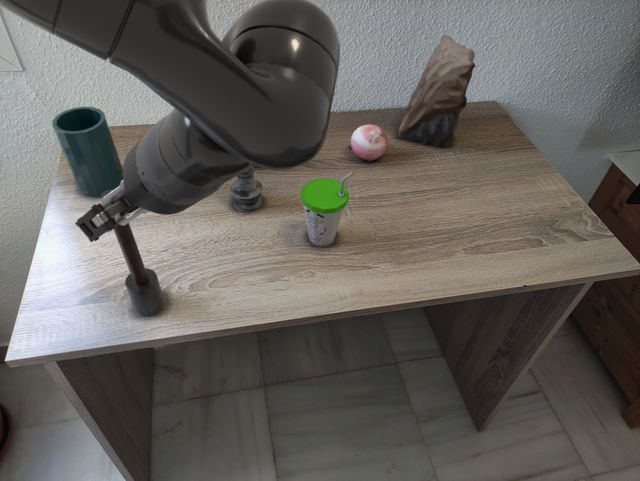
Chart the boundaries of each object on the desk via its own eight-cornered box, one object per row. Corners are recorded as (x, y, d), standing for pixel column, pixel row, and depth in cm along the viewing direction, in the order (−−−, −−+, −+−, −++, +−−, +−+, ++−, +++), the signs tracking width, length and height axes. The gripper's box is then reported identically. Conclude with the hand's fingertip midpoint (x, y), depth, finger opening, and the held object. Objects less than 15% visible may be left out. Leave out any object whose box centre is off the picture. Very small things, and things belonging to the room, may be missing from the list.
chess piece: (257, 189, 91) (253, 136, 82) (268, 208, 88) (265, 155, 79) (227, 196, 89) (221, 144, 80) (237, 216, 86) (231, 163, 77)
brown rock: (416, 112, 113) (435, 28, 99) (466, 130, 109) (493, 44, 94) (394, 137, 106) (411, 49, 91) (447, 156, 101) (473, 68, 87)
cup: (290, 240, 82) (290, 172, 71) (316, 216, 87) (319, 148, 76) (327, 260, 79) (333, 193, 68) (351, 234, 84) (361, 166, 73)
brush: (136, 319, 69) (90, 210, 54) (133, 297, 72) (89, 187, 56) (167, 311, 71) (131, 203, 55) (162, 289, 73) (127, 180, 58)
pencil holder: (80, 201, 87) (52, 137, 76) (78, 174, 92) (52, 110, 82) (127, 192, 89) (106, 128, 79) (123, 166, 94) (103, 103, 84)
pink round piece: (358, 169, 97) (362, 140, 92) (341, 148, 102) (344, 119, 96) (391, 161, 99) (397, 132, 94) (374, 141, 104) (378, 112, 99)
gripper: (209, 96, 45) (152, 150, 58) (83, 167, 37) (48, 213, 50) (254, 161, 47) (190, 200, 60) (144, 242, 39) (95, 268, 51)
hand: (125, 206), depth 55 cm, fingers open, 8 cm apart
